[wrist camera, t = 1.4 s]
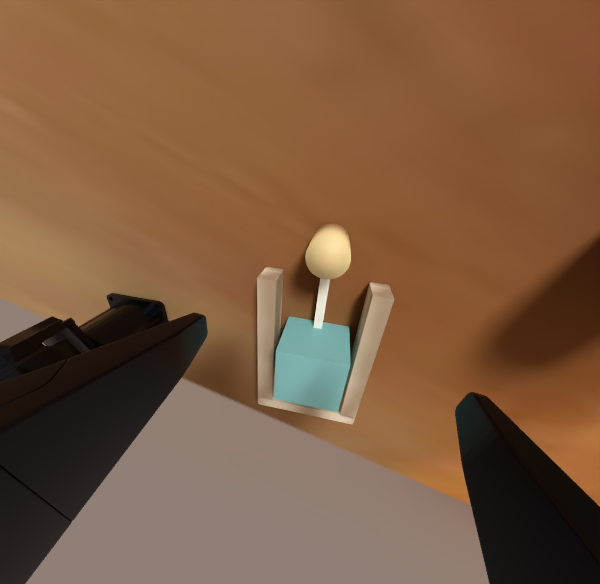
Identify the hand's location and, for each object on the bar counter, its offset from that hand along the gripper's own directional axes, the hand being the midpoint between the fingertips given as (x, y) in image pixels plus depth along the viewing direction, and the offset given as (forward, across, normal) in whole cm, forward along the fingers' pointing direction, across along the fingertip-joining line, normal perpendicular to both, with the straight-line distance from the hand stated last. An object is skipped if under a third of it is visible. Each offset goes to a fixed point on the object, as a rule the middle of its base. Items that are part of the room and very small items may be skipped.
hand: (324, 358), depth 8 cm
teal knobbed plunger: (+12, +1, +6) cm, 14 cm away
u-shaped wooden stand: (+12, +1, +11) cm, 16 cm away
